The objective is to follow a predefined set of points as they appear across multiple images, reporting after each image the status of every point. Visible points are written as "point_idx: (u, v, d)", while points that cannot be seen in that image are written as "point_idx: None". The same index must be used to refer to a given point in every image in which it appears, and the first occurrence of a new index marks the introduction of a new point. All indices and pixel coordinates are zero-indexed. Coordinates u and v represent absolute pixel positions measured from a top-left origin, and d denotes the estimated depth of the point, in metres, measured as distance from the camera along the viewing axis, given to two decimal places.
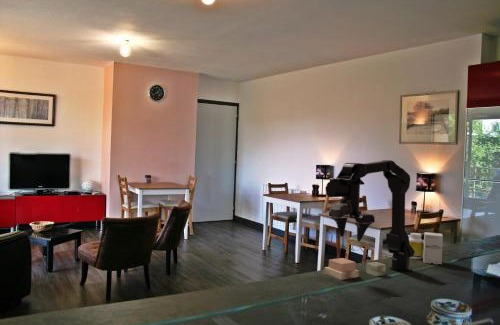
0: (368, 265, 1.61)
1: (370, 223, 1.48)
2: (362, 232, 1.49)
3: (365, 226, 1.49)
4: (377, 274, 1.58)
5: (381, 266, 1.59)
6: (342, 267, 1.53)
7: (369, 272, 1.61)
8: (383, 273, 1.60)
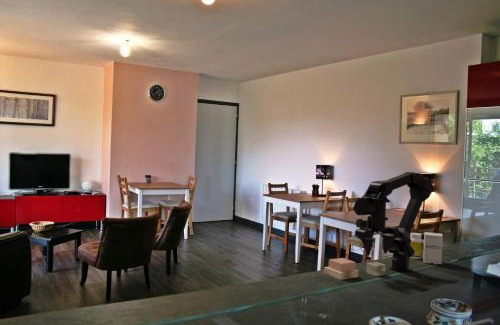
0: (368, 265, 1.61)
1: (365, 239, 1.56)
2: (367, 247, 1.58)
3: (368, 242, 1.57)
4: (377, 274, 1.58)
5: (381, 266, 1.59)
6: (341, 267, 1.53)
7: (369, 272, 1.61)
8: (383, 273, 1.60)
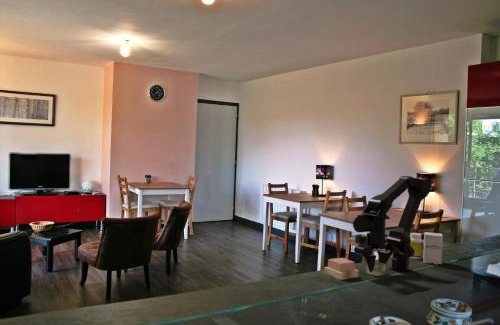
0: None
1: None
2: (370, 263, 1.59)
3: (370, 258, 1.58)
4: (377, 274, 1.58)
5: (381, 266, 1.59)
6: (340, 266, 1.53)
7: (369, 272, 1.61)
8: (383, 273, 1.60)
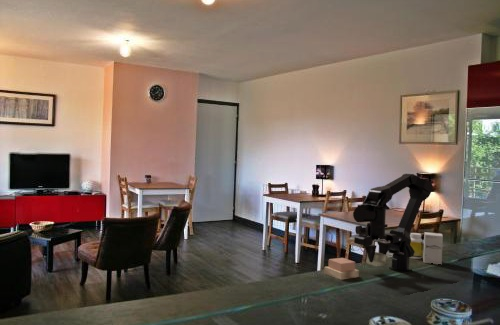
0: None
1: (368, 245, 1.57)
2: (370, 253, 1.59)
3: (371, 248, 1.58)
4: (377, 264, 1.58)
5: (381, 256, 1.59)
6: (341, 266, 1.53)
7: (369, 262, 1.61)
8: (383, 263, 1.60)
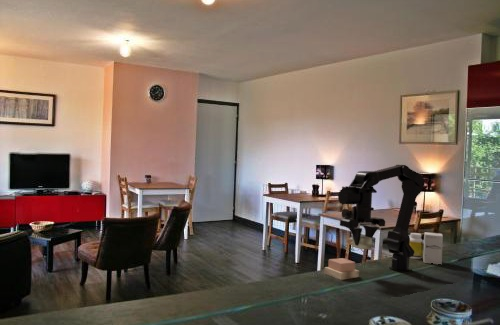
0: None
1: (354, 228, 1.55)
2: (355, 237, 1.57)
3: (356, 231, 1.56)
4: (363, 247, 1.57)
5: (367, 239, 1.58)
6: (341, 266, 1.54)
7: (355, 245, 1.59)
8: (369, 246, 1.58)
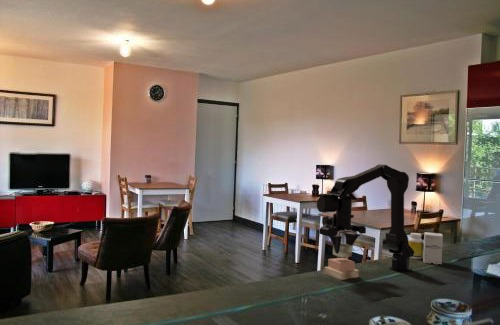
0: None
1: (333, 236, 1.53)
2: (335, 245, 1.55)
3: (336, 239, 1.54)
4: (343, 255, 1.55)
5: (347, 247, 1.56)
6: (340, 266, 1.53)
7: (335, 253, 1.57)
8: (349, 254, 1.56)
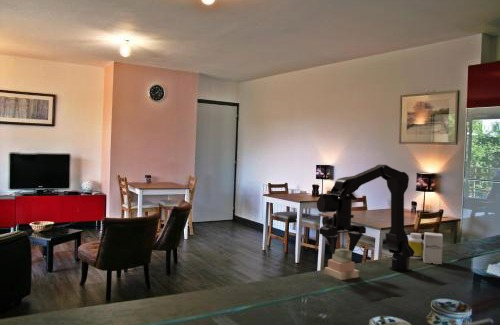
0: None
1: (329, 237, 1.52)
2: (331, 245, 1.54)
3: (332, 240, 1.53)
4: (342, 260, 1.55)
5: (347, 252, 1.56)
6: (340, 267, 1.53)
7: (335, 259, 1.57)
8: (349, 260, 1.56)
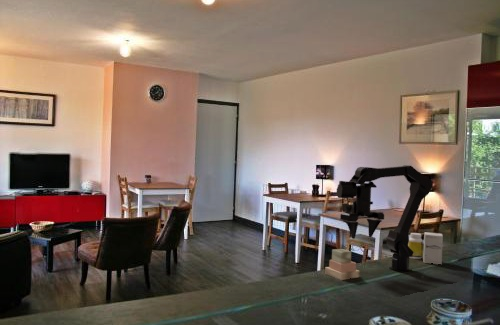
0: (333, 252, 1.58)
1: (350, 222, 1.60)
2: (352, 230, 1.62)
3: (353, 225, 1.61)
4: (342, 261, 1.54)
5: (346, 253, 1.55)
6: (341, 267, 1.53)
7: (334, 259, 1.57)
8: (348, 260, 1.56)
